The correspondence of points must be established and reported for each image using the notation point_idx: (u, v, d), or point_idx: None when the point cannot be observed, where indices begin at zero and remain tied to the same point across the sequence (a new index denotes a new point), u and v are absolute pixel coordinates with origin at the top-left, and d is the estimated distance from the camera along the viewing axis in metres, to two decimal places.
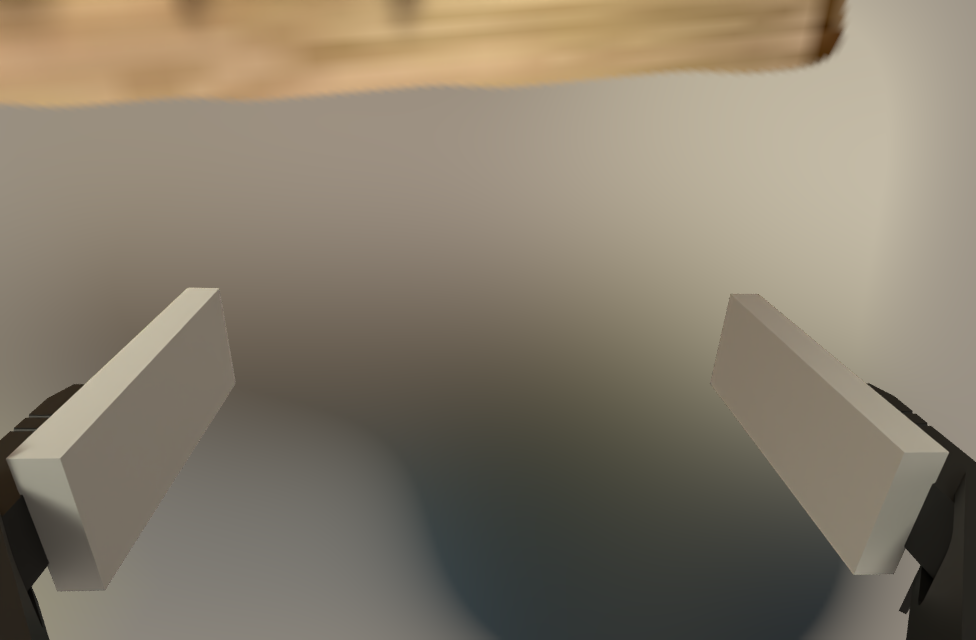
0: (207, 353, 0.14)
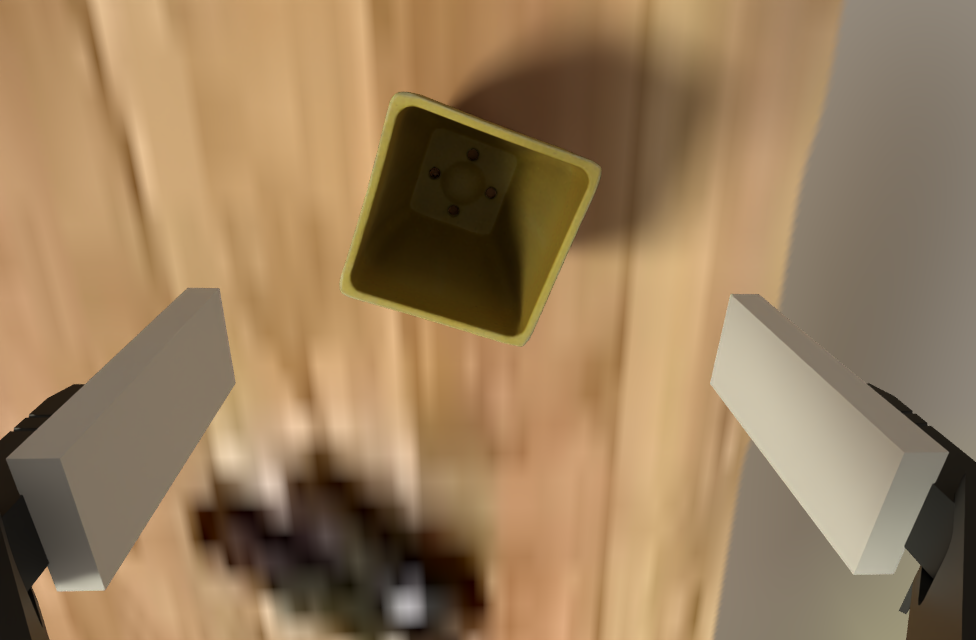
0: (207, 353, 0.14)
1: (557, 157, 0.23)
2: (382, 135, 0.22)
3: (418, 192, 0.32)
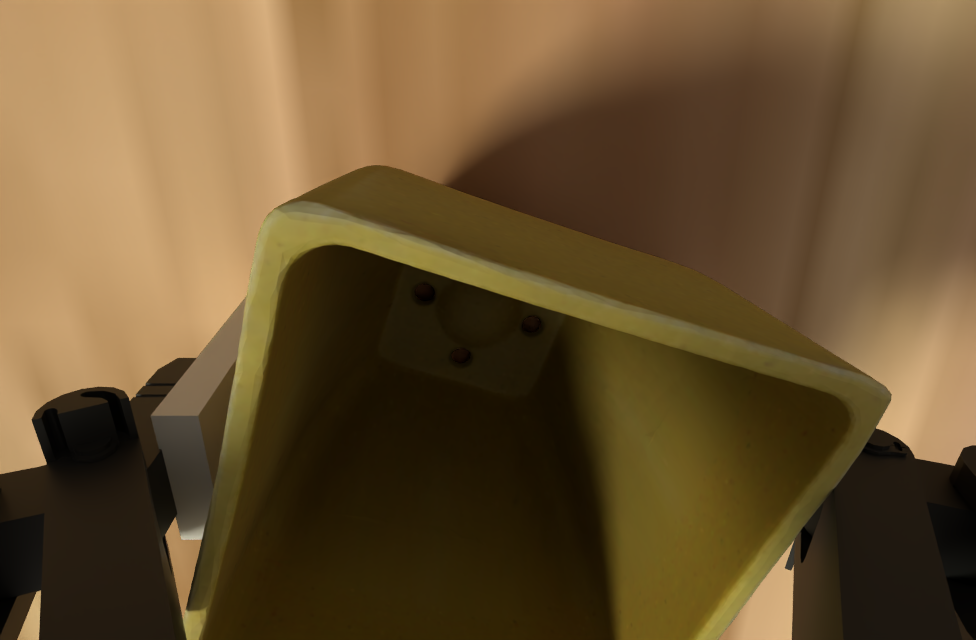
0: None
1: (773, 373, 0.08)
2: (244, 330, 0.07)
3: (393, 328, 0.17)
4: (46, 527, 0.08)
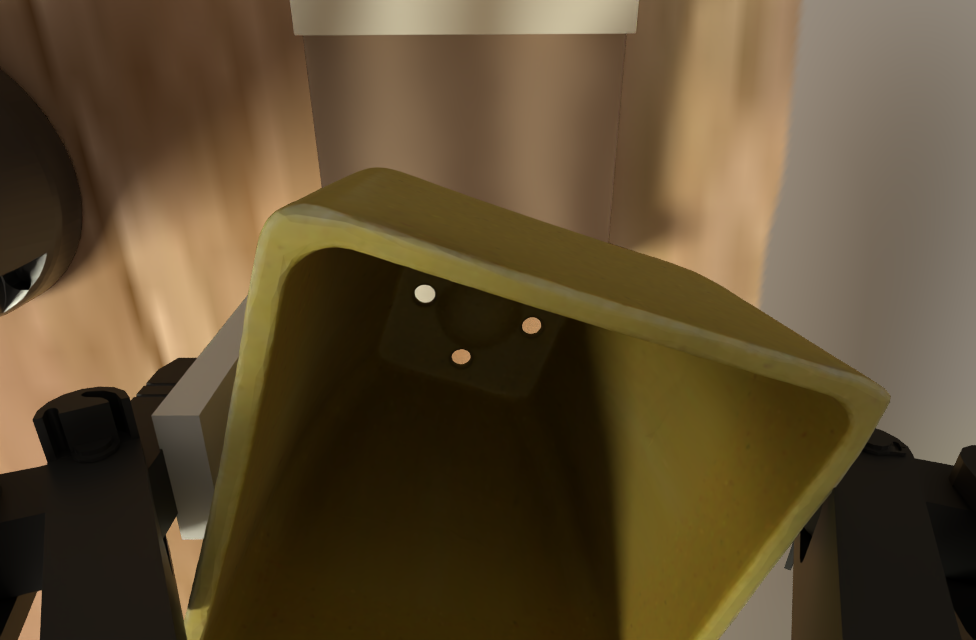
0: None
1: (772, 375, 0.08)
2: (245, 332, 0.07)
3: (394, 329, 0.17)
4: (47, 527, 0.08)
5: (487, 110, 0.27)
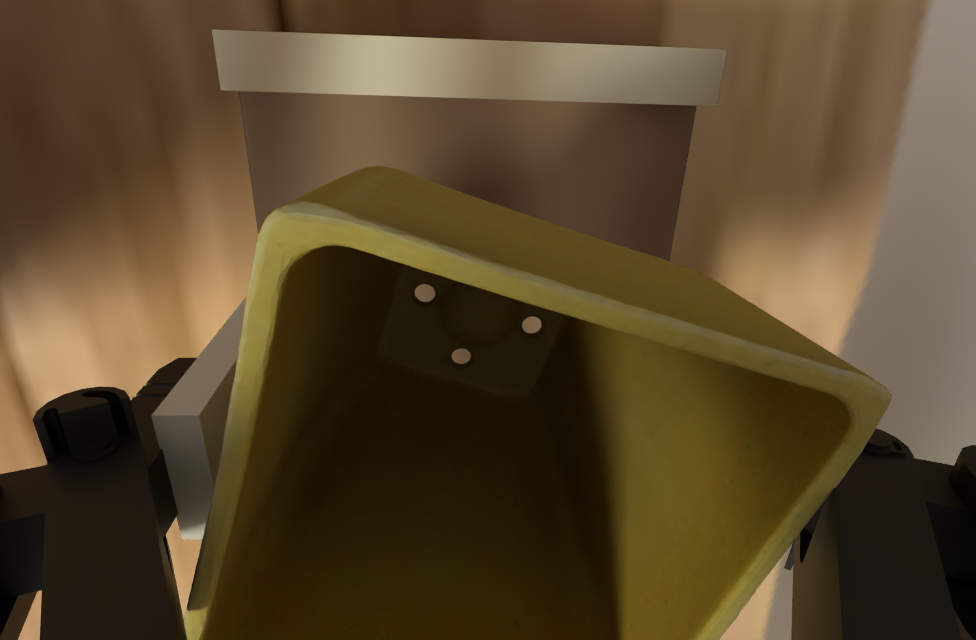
0: None
1: (773, 374, 0.08)
2: (245, 331, 0.07)
3: (394, 328, 0.17)
4: (47, 527, 0.08)
5: (498, 196, 0.19)
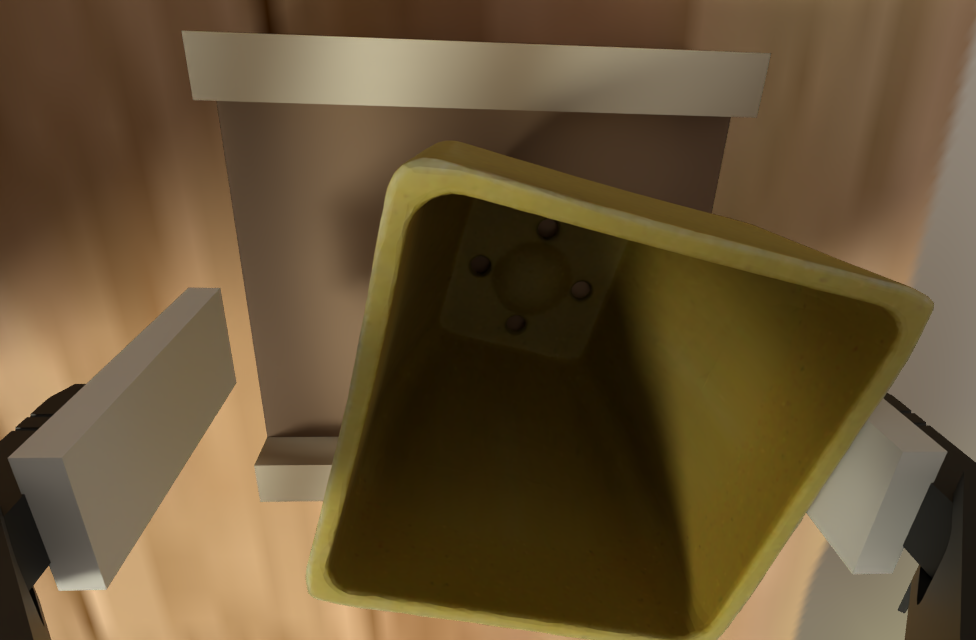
0: (208, 353, 0.14)
1: (827, 289, 0.09)
2: (374, 273, 0.09)
3: (453, 300, 0.18)
4: None
5: None
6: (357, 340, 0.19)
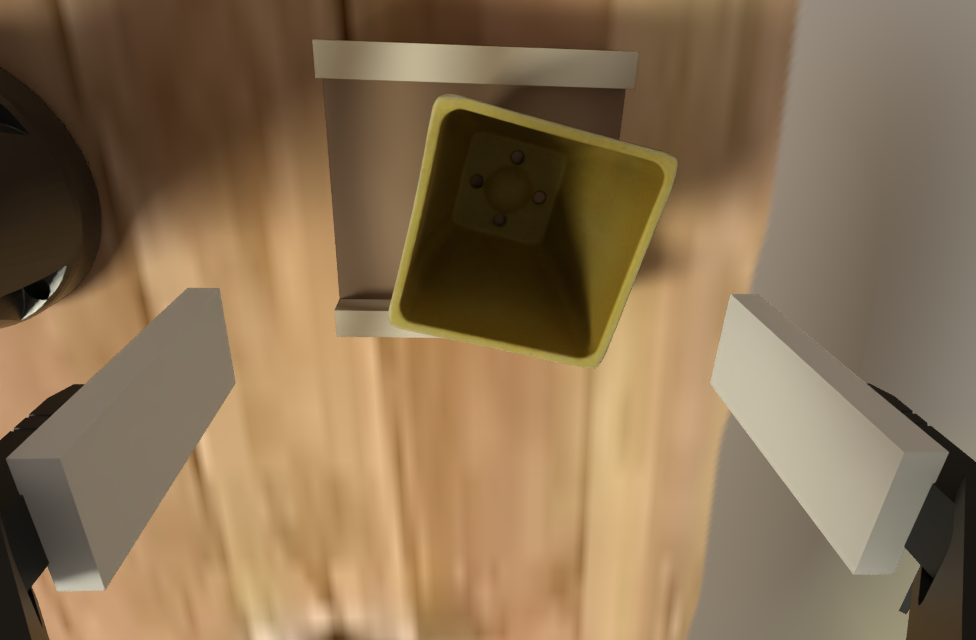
0: (207, 353, 0.14)
1: (627, 152, 0.20)
2: (426, 145, 0.20)
3: (460, 204, 0.29)
4: None
5: None
6: (399, 232, 0.30)
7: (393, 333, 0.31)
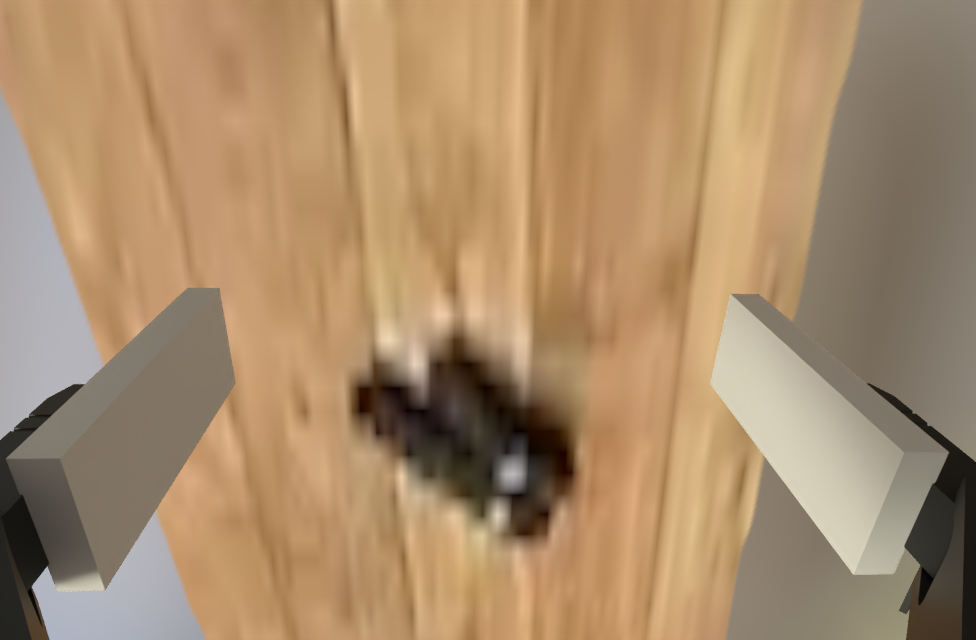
0: (207, 353, 0.14)
1: None
2: None
3: None
4: None
5: None
6: None
7: None
